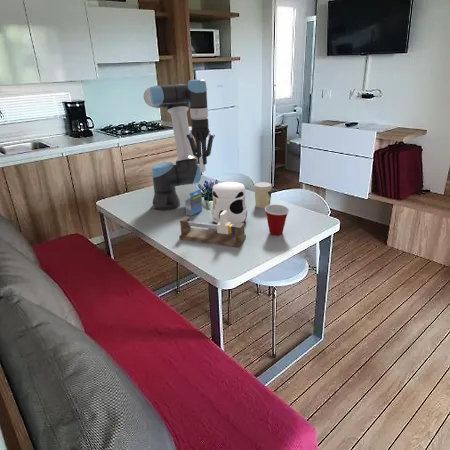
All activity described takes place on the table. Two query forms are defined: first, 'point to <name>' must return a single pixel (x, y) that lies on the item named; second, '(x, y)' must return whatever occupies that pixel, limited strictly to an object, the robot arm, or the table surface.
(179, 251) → the table surface
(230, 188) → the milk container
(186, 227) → the wooden rail holder
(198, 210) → the label tape box
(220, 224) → the cream stepped block
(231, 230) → the metal rail
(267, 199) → the coffee cup
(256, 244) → the table surface
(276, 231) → the plastic cup
